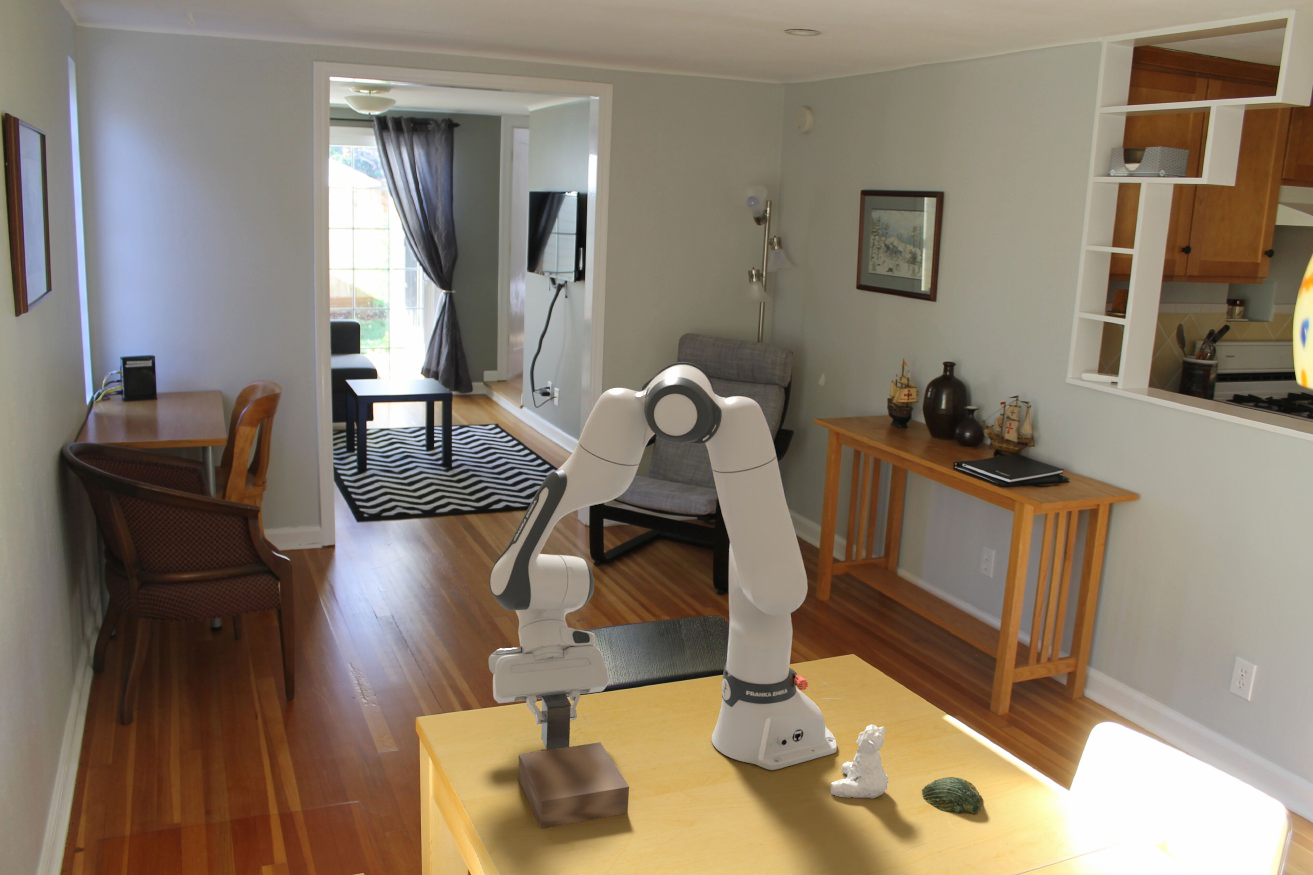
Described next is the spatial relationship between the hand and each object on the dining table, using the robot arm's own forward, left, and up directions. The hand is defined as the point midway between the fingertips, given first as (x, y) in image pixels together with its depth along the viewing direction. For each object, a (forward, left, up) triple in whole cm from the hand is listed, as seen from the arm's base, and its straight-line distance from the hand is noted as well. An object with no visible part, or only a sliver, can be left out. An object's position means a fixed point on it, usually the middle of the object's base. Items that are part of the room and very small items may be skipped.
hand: (556, 720), depth 173 cm
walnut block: (+1, +14, -6) cm, 15 cm away
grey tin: (0, -1, -4) cm, 4 cm away
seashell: (-60, +30, -6) cm, 68 cm away
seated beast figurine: (-47, +23, -6) cm, 53 cm away
